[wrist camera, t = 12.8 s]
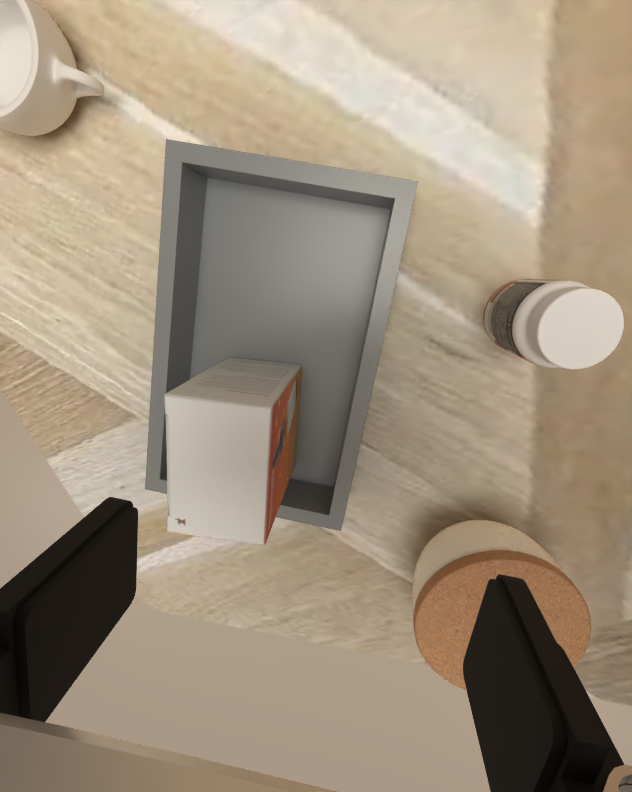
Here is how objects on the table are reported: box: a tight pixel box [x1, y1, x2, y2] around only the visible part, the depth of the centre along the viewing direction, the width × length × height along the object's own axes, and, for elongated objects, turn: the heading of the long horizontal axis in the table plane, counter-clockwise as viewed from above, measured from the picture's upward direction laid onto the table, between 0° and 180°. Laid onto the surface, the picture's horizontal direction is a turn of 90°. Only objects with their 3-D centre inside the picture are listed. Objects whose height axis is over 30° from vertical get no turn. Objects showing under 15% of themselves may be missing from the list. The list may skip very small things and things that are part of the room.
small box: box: [164, 357, 302, 545], centre depth 26 cm, size 8×6×10 cm
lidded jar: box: [412, 520, 591, 690], centre depth 30 cm, size 11×11×9 cm
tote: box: [145, 139, 418, 531], centre depth 29 cm, size 14×22×5 cm, turn 170°
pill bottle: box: [484, 279, 624, 369], centre depth 25 cm, size 5×5×8 cm
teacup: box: [0, 0, 104, 136], centre depth 25 cm, size 10×8×5 cm
